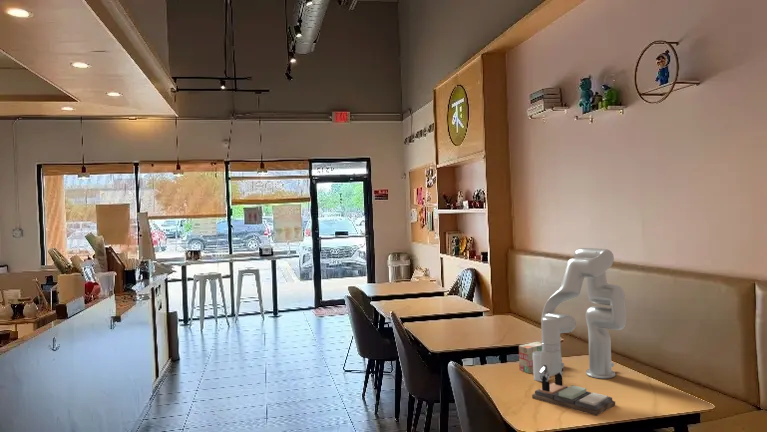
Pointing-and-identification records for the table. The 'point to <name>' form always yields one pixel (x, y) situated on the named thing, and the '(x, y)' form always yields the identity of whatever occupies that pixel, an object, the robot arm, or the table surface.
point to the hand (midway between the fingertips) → (552, 387)
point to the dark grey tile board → (575, 402)
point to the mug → (537, 365)
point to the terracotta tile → (554, 388)
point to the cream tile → (594, 399)
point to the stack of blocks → (528, 355)
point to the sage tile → (572, 392)
